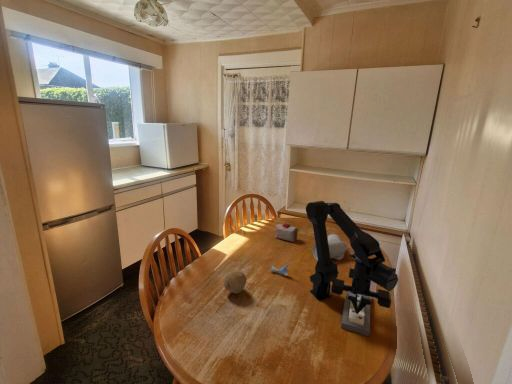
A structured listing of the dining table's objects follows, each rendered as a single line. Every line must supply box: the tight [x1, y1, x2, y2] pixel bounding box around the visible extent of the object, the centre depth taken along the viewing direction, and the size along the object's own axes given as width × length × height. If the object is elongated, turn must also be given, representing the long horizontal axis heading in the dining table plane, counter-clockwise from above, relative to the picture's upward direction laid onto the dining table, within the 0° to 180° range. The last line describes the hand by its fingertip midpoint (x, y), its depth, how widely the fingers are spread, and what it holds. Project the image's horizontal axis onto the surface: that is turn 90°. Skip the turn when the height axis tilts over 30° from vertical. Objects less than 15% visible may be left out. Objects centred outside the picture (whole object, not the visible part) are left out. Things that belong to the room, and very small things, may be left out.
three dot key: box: [349, 301, 364, 312], centre depth 97 cm, size 5×5×2 cm
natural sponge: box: [223, 269, 247, 295], centre depth 105 cm, size 9×9×10 cm
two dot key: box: [347, 307, 365, 326], centre depth 91 cm, size 5×5×2 cm
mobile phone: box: [370, 281, 378, 293], centre depth 115 cm, size 8×1×15 cm
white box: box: [274, 222, 299, 243], centre depth 157 cm, size 14×8×10 cm, turn 60°
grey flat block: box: [340, 291, 371, 337], centre depth 97 cm, size 22×9×2 cm, turn 157°
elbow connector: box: [311, 233, 347, 262], centre depth 138 cm, size 18×11×20 cm
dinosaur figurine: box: [269, 259, 293, 277], centre depth 118 cm, size 2×13×8 cm
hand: (356, 312), depth 90 cm, fingers closed
